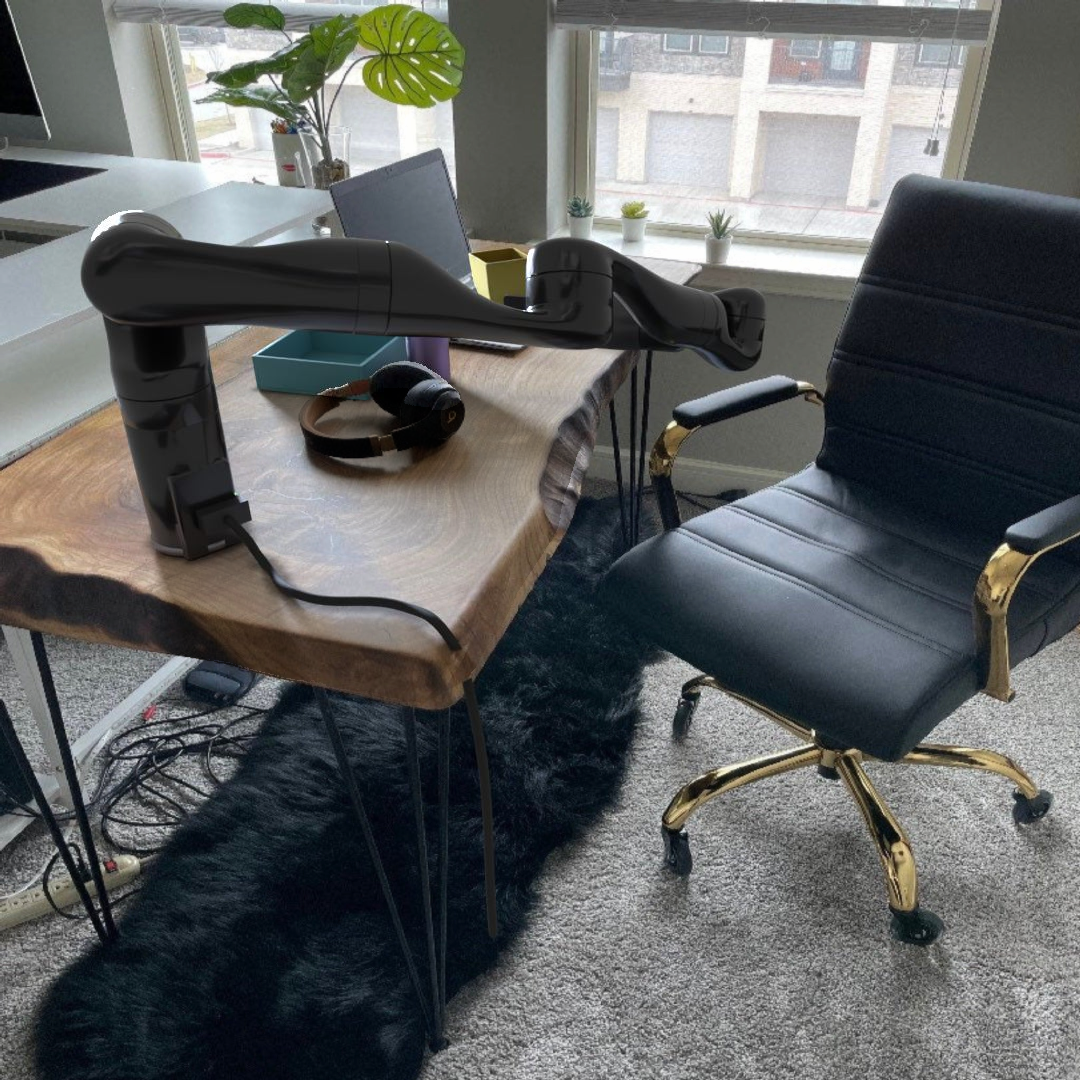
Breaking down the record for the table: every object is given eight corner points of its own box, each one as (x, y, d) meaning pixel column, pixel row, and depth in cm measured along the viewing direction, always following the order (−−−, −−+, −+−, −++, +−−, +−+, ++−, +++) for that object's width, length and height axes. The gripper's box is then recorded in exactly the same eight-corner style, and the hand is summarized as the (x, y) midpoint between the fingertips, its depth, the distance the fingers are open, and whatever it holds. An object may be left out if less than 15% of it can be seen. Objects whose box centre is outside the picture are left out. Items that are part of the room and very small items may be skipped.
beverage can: (444, 392, 140) (437, 287, 133) (404, 390, 141) (394, 285, 134) (456, 377, 145) (449, 275, 138) (417, 375, 146) (408, 273, 139)
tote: (411, 361, 152) (409, 329, 149) (366, 400, 138) (362, 366, 136) (311, 351, 156) (306, 320, 154) (257, 389, 143) (251, 356, 140)
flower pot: (470, 303, 177) (467, 252, 172) (515, 296, 180) (513, 245, 175) (489, 316, 170) (486, 263, 165) (535, 309, 173) (534, 257, 168)
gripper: (597, 366, 127) (478, 355, 131) (621, 330, 138) (511, 322, 143) (597, 308, 123) (475, 300, 127) (623, 277, 135) (509, 270, 139)
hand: (494, 311), depth 135 cm, fingers open, 8 cm apart
